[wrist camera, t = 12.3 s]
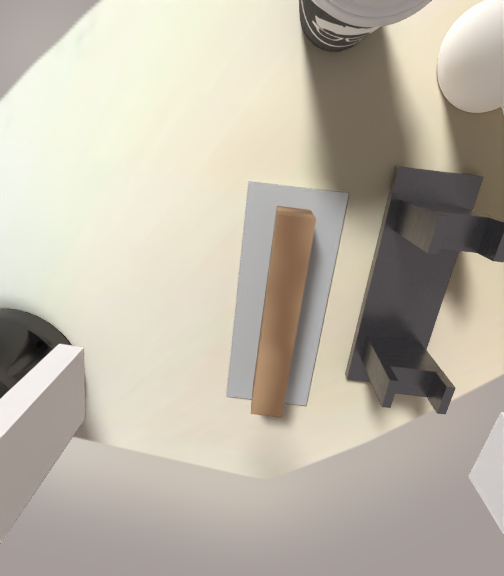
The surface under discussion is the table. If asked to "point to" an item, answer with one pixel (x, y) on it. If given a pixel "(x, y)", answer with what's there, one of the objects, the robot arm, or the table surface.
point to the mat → (254, 280)
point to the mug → (474, 59)
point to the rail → (281, 307)
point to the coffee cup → (351, 19)
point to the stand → (417, 281)
